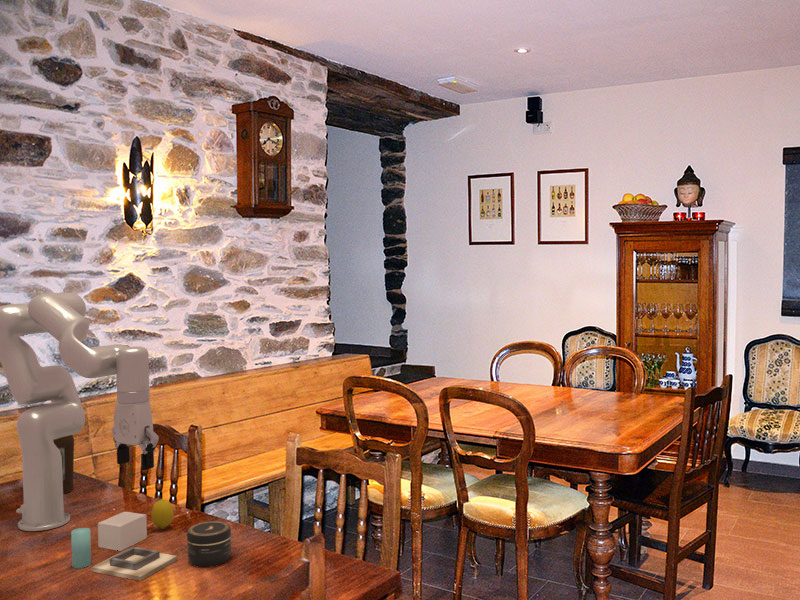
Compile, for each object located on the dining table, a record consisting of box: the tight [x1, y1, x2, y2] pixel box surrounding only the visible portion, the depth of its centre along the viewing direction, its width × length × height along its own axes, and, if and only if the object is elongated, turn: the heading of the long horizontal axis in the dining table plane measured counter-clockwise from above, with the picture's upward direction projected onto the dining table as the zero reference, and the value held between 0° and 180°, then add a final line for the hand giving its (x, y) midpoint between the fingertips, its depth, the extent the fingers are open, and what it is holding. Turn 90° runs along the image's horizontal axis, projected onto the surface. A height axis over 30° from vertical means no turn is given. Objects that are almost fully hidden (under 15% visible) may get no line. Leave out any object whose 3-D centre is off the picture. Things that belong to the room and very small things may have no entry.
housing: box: [97, 511, 148, 552], centre depth 179 cm, size 7×9×6 cm
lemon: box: [150, 498, 175, 530], centre depth 188 cm, size 6×6×8 cm
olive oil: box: [53, 434, 75, 495], centre depth 221 cm, size 11×11×25 cm
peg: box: [70, 527, 92, 569], centre depth 166 cm, size 4×4×8 cm
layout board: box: [91, 546, 178, 582], centre depth 165 cm, size 14×12×2 cm
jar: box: [186, 520, 232, 568], centre depth 168 cm, size 10×10×8 cm
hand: (135, 465), depth 177 cm, fingers open, 9 cm apart
